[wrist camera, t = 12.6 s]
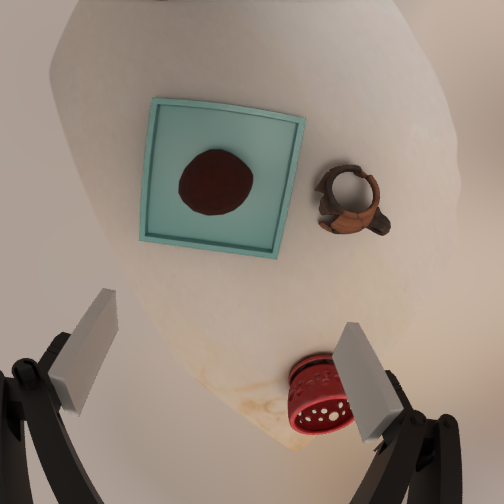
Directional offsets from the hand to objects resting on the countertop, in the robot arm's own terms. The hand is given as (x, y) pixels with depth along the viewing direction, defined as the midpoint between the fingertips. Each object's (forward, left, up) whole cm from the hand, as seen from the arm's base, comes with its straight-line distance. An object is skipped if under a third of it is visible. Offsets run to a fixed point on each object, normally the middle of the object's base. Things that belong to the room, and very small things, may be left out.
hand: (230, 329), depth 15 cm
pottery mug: (-3, +16, -27) cm, 31 cm away
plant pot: (+30, +20, -27) cm, 45 cm away
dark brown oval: (-4, -3, -26) cm, 27 cm away
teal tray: (-4, -3, -27) cm, 27 cm away
